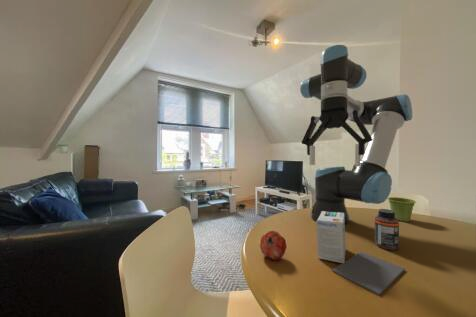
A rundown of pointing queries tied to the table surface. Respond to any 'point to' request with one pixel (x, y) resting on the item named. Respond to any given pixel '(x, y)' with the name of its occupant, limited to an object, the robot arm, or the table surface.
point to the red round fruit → (273, 245)
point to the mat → (369, 272)
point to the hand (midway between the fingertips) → (333, 165)
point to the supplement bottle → (387, 230)
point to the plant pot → (402, 208)
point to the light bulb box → (331, 236)
